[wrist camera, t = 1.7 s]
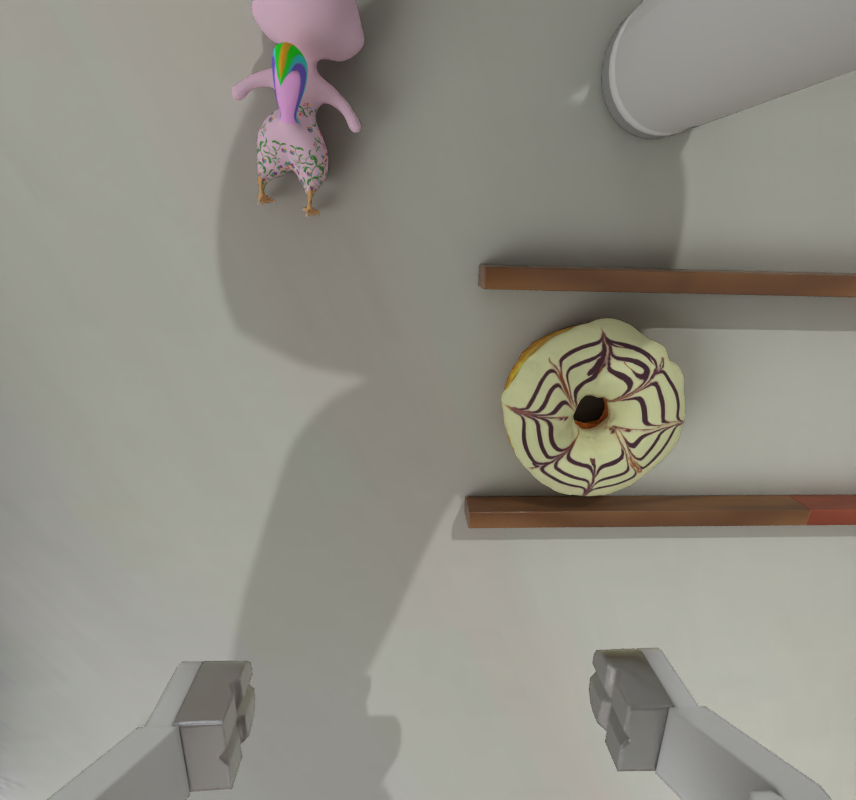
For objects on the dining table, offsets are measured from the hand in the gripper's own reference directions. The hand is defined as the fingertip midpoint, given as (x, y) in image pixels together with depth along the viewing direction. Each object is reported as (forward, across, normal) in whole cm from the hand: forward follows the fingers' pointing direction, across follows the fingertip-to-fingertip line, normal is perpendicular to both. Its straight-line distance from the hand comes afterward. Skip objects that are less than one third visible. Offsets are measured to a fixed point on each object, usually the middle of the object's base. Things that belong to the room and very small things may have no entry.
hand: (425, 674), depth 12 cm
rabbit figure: (+20, +5, -19) cm, 28 cm away
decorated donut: (+20, -11, -1) cm, 23 cm away
